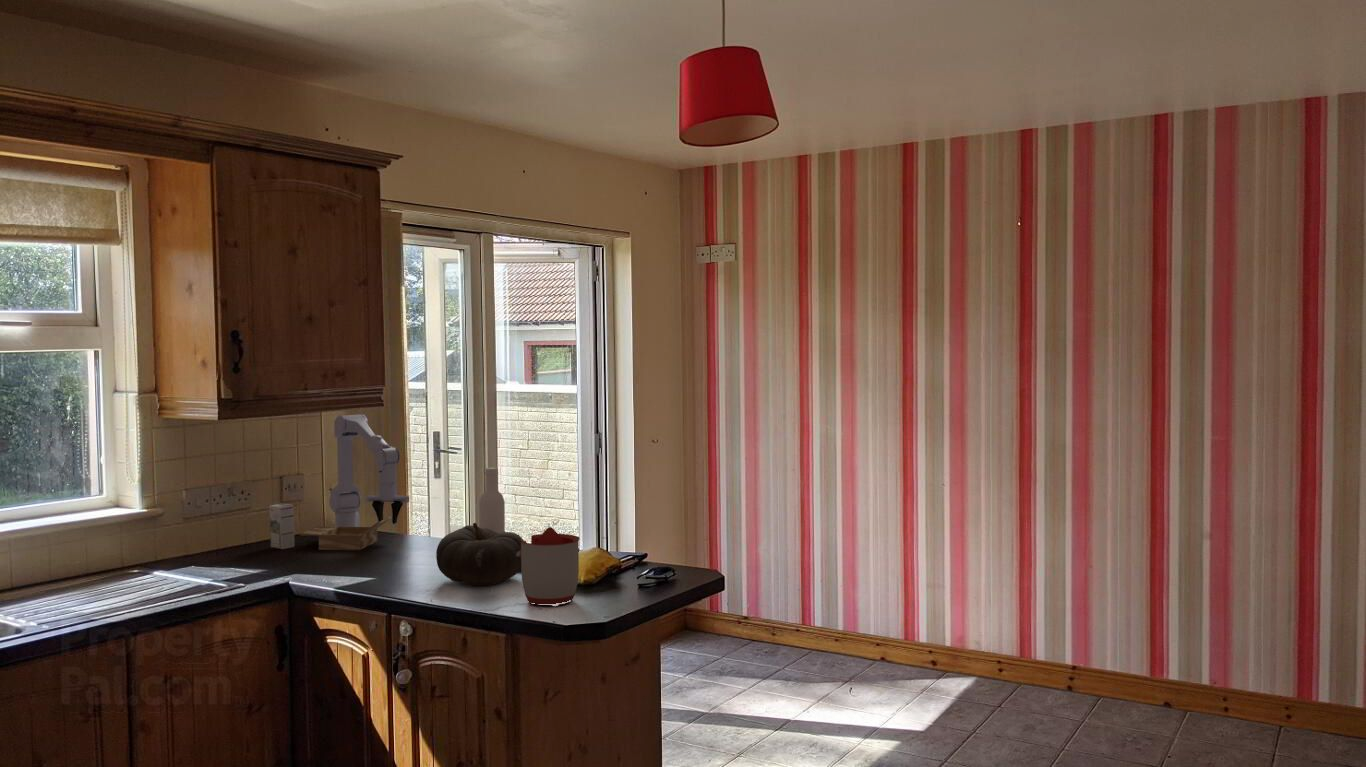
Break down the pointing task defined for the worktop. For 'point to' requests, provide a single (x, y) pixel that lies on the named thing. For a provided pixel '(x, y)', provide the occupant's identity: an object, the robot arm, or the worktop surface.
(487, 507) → the bottle
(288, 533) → the syrup box
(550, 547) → the citrus juicer
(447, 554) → the gourd
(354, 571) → the worktop surface
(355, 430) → the robot arm
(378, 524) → the carton flap
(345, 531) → the carton
